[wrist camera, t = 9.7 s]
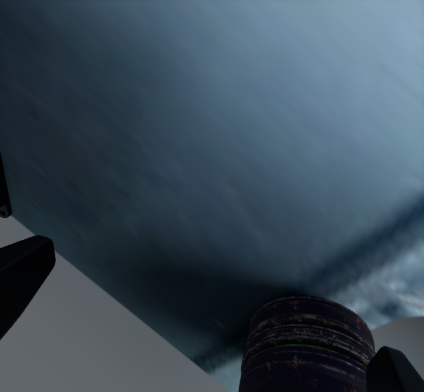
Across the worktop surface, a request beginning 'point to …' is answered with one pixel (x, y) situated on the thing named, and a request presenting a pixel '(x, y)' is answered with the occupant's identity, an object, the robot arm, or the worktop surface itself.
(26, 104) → the worktop surface
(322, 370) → the dark purple barrel
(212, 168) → the worktop surface
